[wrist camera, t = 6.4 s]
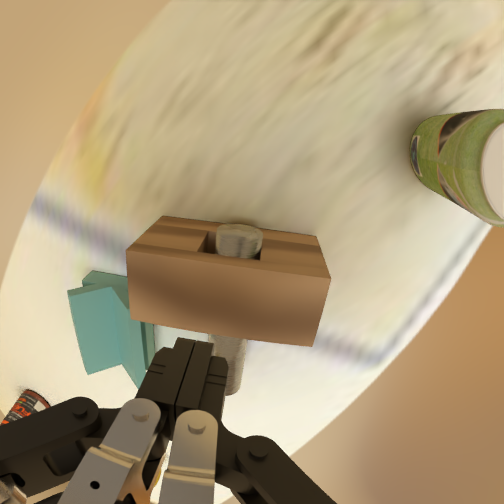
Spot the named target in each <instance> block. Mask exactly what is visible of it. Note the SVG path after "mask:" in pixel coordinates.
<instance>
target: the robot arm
mask: <svg viewBox="0 0 504 504" xmlns="http://www.w3.org/2000/svg"><path fill="white" fill-rule="evenodd" d="M214 347H215V344H214V343H209V342H203V341H196V340H191V339H185V338H180V337H178V338H177V340H176V343H175V345H174V347H173V349H172V348H167V347H163V348H162V349H160V350H159V351H158V352H157V353H156V354H155V355H154V357H153V359H152V362H151V364H150V366H149V368H148V371H147V372H146V375H145V377H144V379H143V381H142V383H141V386H140V388H139V390H138V392H137V394H136V397H135V398H134V399H132V400H130V401H128V402H126V403H125V404H124V405H123V407H121V408H116V409H107V408H98V406H97V404H96V403H95V402H94V401H93V400H91V399H89V398H86V397H75V398H72V399H69V400H67V401H64V402H62V403H59V404H57V405H54V406H52V407H49V408H46V409H44V410H41V411H39V412H36V413H33V414H31V415H28V416H25V417H23V418H20V419H17V420H15V421H12V422H9V423H6V424H3V425H1V426H0V504H26V500H27V499H26V498H27V497H30V496H33V495H35V494H38V493H41V492H43V491H45V490H48V489H51V488H53V487H55V486H58V485H60V484H63V483H65V482H67V481H70V482H69V484H68V486H67V487H66V489H65V491H64V492H61V493H57V494H55V495H52V496H50V497H48V498H46V499H44V500H41V501H39V502H37V503H34V504H150V496H151V492H152V490H153V487H154V485H155V482H156V479H157V477H158V474H159V472H160V469H161V467H162V464H163V462H164V459H165V456H166V449H167V445H168V442H169V440H170V441H172V446H171V452H170V457H169V463H168V468H167V470H165V472H164V475H163V480H162V486H161V491H160V497H159V503H158V504H213V502H214V484H215V482H216V483H218V484H221V485H223V486H225V487H227V488H230V490H231V492H232V493H233V495H234V496H235V497H236V498H237V499H238V501H239V502H240V503H241V504H337V503H336V502H335V501H333V500H332V499H331V498H330V497H329V496H328V495H327V494H326V493H325V492H324V491H323V490H322V489H321V488H320V487H319V486H318V485H316V484H315V483H314V482H313V481H312V480H311V479H310V478H309V477H308V476H307V475H306V474H305V473H304V472H303V471H302V470H301V469H300V468H299V467H298V466H297V465H296V464H295V463H294V462H293V461H292V460H291V459H290V458H289V456H288V455H287V454H286V453H285V452H284V451H283V450H282V449H281V448H280V447H279V446H278V445H277V444H276V443H275V442H274V441H273V440H271V439H269V438H267V437H264V436H258V435H255V436H249V437H246V438H242V437H240V436H237V435H235V434H233V433H231V432H230V431H228V430H227V429H226V428H225V427H224V425H223V423H222V421H221V419H222V413H223V407H224V401H225V395H226V387H227V379H228V371H229V366H228V363H227V361H226V358H224V357H218V356H214Z"/></svg>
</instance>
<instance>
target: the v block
mask: <svg viewBox="0 0 504 504" xmlns="http://www.w3.org/2000/svg"><path fill="white" fill-rule="evenodd" d="M82 284H83V287H80V288H76V289H72V290H68V291H67V293H68V298H69V303H70V309H71V314H72V318H73V323H74V327H75V332H76V336H77V340H78V344H79V348H80V352H81V356H82V360H83V363H84V367H85V370H86V372H87V374H88V375H89V374H92V373H95V372H99V371H102V370H105V369H108V368H111V367H114V366H117V365H120V364H122V365H123V366H124V368H125V370H126V371H127V373H128V374H129V376H130V377H131V379H132V381H133V382H134V384H135V385H136V387H137V388H138V389H139V388H140V386H141V383H142V381H143V379H144V377H145V375H146V371H145V370H148V368H149V366H150V364H151V362H152V359H153V357H154V355H155V346H154V332H153V324H151V323H146V322H142V321H137V320H132V319H131V316H130V306H129V294H128V280H127V277H124V276H119V275H113V274H108V273H102V272H97V271H91V272H90V273H89V274H88V275H87V276H86V277H85V278H84V279H83V280H82Z"/></svg>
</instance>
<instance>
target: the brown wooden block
mask: <svg viewBox="0 0 504 504" xmlns="http://www.w3.org/2000/svg"><path fill="white" fill-rule="evenodd" d="M221 225H224V224H223V223H216V222H208V221H200V220H192V219H184V218H176V217H167V216H162V217H161V218H160V219H159V220H157V221H156V222H155V223H154V224H153V225H152V226H151V227H150V228H149V229H148V230H147V231H146V232H144V233H143V234H142V235H141V236H140V237H139V238H138V239H137V240H136V241H135V242H134V243H133V244H132V245H131V246H130V247H129V248H128V249H127V250H126V263H127V280H128V294H129V306H130V316H131V319H132V320H137V321H142V322H146V323H151V324H157V325H162V326H167V327H172V328H178V329H184V330H189V331H195V332H201V333H207V334H214V335H220V336H227V337H234V338H241V339H248V340H256V341H264V342H272V343H280V344H290V345H299V346H309V347H312V346H313V343H314V339H315V336H316V333H317V329H318V326H319V322H320V319H321V315H322V312H323V308H324V304H325V301H326V297H327V293H328V289H329V285H330V282H331V277H330V274H329V271H328V268H327V265H326V262H325V259H324V257H323V254H322V251H321V248H320V245H319V243H318V240H317V237H316V236H310V235H303V234H297V233H290V232H282V231H275V230H268V229H261V228H257V229H259V230H261V231H262V232H263V239H262V246H261V253H260V260H253V259H246V258H239V257H231V256H224V255H217V254H215V245H216V234H217V228H218V227H219V226H221Z"/></svg>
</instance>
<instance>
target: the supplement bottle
mask: <svg viewBox="0 0 504 504" xmlns="http://www.w3.org/2000/svg"><path fill="white" fill-rule="evenodd" d="M49 407H50V406H49V405H48V403H47V402H46V401H45V400H44V399H43V398H42V397H41V396H39V395H38V394H36V393H34V392H32V391H28V390H27V391H24V392H23V394H21V396H20V397H19V399H18V400H17V402H16V403H15V404H14V406H13V407H12V408H11V410H10V411H9V413H8V414H7V416H6V417H5V418H4V420H3V421H2V423H1V425H3V424H6V423H9V422H12V421H15V420H17V419H20V418H23V417H25V416H28V415H31V414H33V413H36V412H39V411H41V410H44V409H46V408H49ZM1 425H0V426H1Z"/></svg>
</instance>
